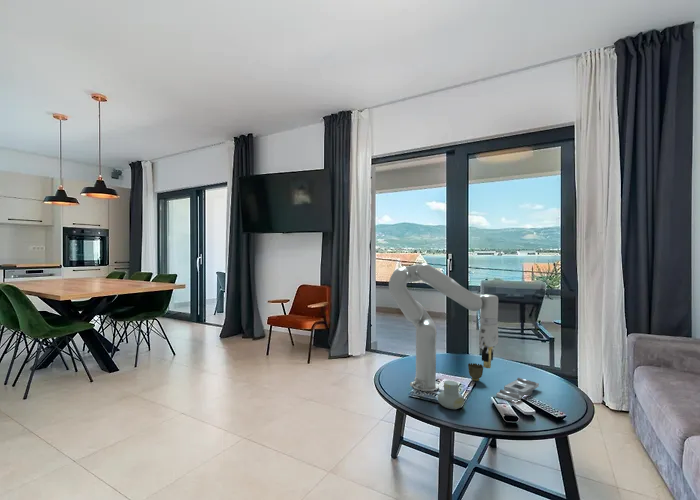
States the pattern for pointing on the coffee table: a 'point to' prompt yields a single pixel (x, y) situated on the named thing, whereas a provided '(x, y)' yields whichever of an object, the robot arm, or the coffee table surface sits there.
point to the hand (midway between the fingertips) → (487, 360)
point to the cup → (475, 371)
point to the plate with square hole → (517, 389)
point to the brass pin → (488, 364)
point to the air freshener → (451, 396)
